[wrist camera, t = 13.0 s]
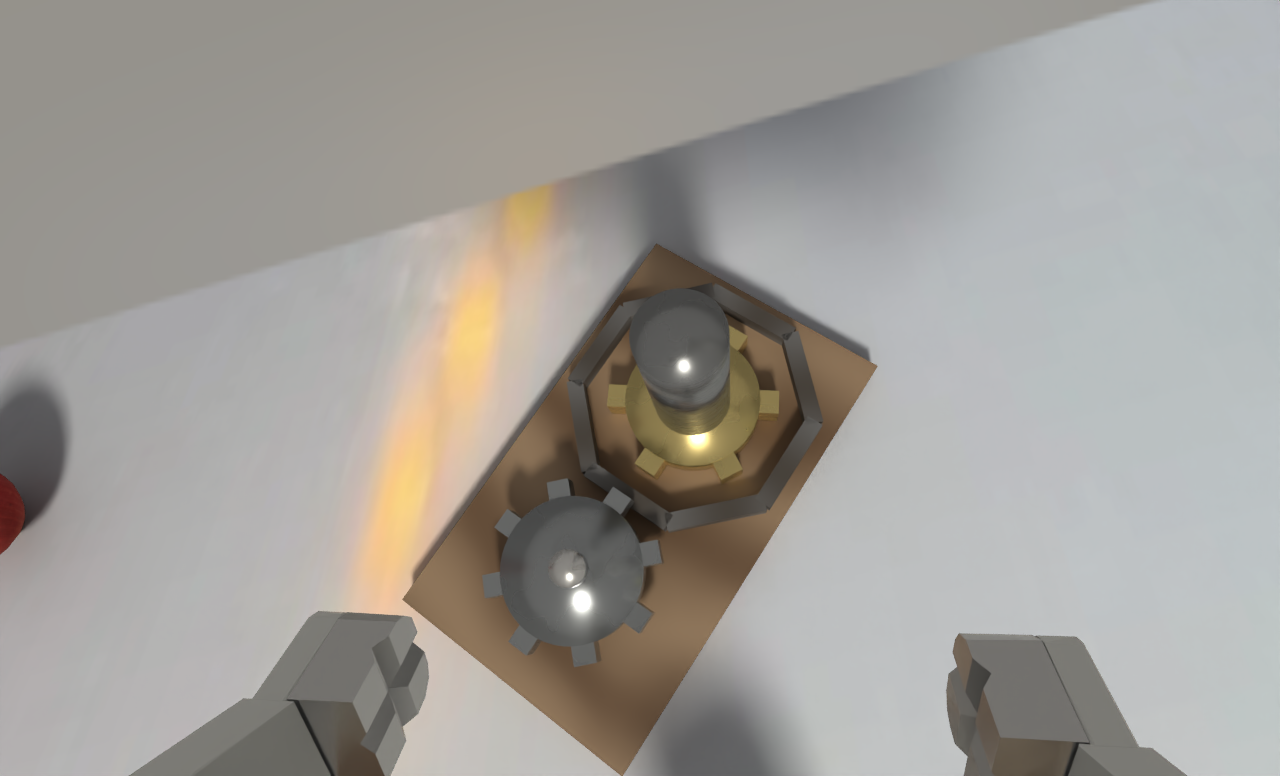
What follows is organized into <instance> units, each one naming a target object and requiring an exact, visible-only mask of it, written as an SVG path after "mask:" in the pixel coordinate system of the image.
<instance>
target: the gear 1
mask: <svg viewBox="0 0 1280 776" xmlns="http://www.w3.org/2000/svg"><path fill="white" fill-rule="evenodd" d="M547 488H548V495H549V501H547V502H544V503H542V504H540V505H539V506H537V507H535V508H534V509H532V510H531V511H530V512H528V513H527V514H526V515H525V516H524V517H521V516H520V515H518V514H517V513H516V512H514V511H512V510H509V509H507V510H506V511H505V513H504V514H503V516H502V517H501V519H500V520H499V521H498V523H497V524H496V526H495V527H494V528H496V529H497V530H498V531H500V532H501V533H503V534H504V535H505V536H507V537H508V540H507V542H506V544H505V547H504V550H503V553H502V558H501V563H500V572H496V573H491V574H486V575H482V578H483V587H484V596H485V598H497V597H502V596H503V597H504V600H505V603H506V605H507V607H508V609H509V611H510V613H511V614H512V616H513V618H514V619H515V620H516V621H517V623H518V624H519V626H518V628H517V629H516V631H515V632H514V634H513V635H512V637H511V638H510V640H509V641H508V642H509V643H511V644H512V645H513V646H514V647H516V648H517V649H518V650H519V651H521V652H522V653H523V654H525V655H526V656H527V655H531V654H533V653H534V652H535V650H536V649H537V647H538V646H539V644H540V643H541V641H543V642H546V643H549V644H552V645H557V646H568V647H571V651H572V658H573V664H574V667H578V666H583V665H588V664H593V663H597V662H600V661H602V660H601V654H600V648H599V641H598V640H601V639H603V638H605V637H607V636H609V635H611V634H612V633H614V632H615V631H616V630H618V629H619V628H620V627H621V626H622V625H623V624H624V623H625V624H626V625H628V626H629V627H631V628H632V629H633V630H635V631H636V632H637V633H639V634H640V633H642V632H643V631H644V629H645V627H646V626H647V624H648V623H649V621H650V620H651V618H652V617H653V615H654V613H655V612H653V611H652V610H650V609H649V608H648V607H646V606H645V605H643V604H642V603H641V602H639V601H640V599H641V596H642V594H643V590H644V586H645V580H646V567H651V566H656V565H661V564H664V560H663V555H662V550H661V544H660V541H659V540H653V541H648V542H643V543H641V541H640V539H639V537H638V535H637V533H636V531H635V530H634V528H633V527H632V526H631V524H630V523H629V522H628V521H627V520H626V519H625V518H624V517H625V516H626V514H627V513H628V511H629V510H630V508H631V507H632V505H633V504H634V501H633V500H632V499H631V498H629V497H628V496H626V495H625V494H623V493H622V492H620V491H619V490H617V489H616V488H614V487H613V488H612V489H611V491H610V492H609V493H608V495H607V496H606V498H605V499H604V501H603V502H600V501H598V500H596V499H592V498H588V497H582V496H575V491H574V484H573V481H571V480H570V479H568V478H566V479H561V480H557V481H552V482H547Z"/></svg>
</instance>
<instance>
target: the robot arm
mask: <svg viewBox="0 0 1280 776" xmlns="http://www.w3.org/2000/svg"><path fill="white" fill-rule="evenodd" d="M416 634H417V630H416V627H415V625H414V622H413V620H412V617H408V616H399V615H382V614H366V613H350V612H347V613H345V612H325V611H318V612H316V613H315V614H314V615H312V616H311V617H309V618H308V619H307V621H306V622H305V624H304V625H303V626H302V628H301V629H300V631H299V632H298V634H297V635H296V636H295V638H294V639H293V641H292V642H291V644H290V645H289V647H288V648H287V649H286V651H285V652H284V654H283V655H282V657H281V658H280V660H279V661H278V662H277V664H276V665H275V667H274V668H273V670H272V671H271V673H270V674H269V675H268V677H267V678H266V680H265V681H264V683H263V684H262V686H261V687H260V688H259V690H258V691H257V693H256V694H255V696H254V697H253V699H242V700H241V701H239V702H238V703H236V704H235V705H233V706H232V707H230V708H229V709H227V710H226V711H224V712H223V713H221V714H220V715H218V716H217V717H215V718H214V719H212V720H211V721H209V722H208V723H206V724H205V725H203V726H202V727H200V728H199V729H198V730H196V731H195V732H193V733H192V734H190V735H189V736H187V737H186V738H184V739H183V740H181V741H180V742H178V743H177V744H175V745H174V746H172V747H171V748H169V749H168V750H166V751H165V752H163V753H162V754H160V755H159V756H157V757H156V758H154V759H153V760H152V761H150V762H149V763H147V764H146V765H144V766H143V767H141V768H140V769H138V770H137V771H135V772H134V773H132V774H131V775H129V776H391V773H392V771H393V769H394V767H395V764H396V762H397V760H398V758H399V756H400V753H401V751H402V749H403V747H404V744H405V742H406V738H405V734H404V730H403V726H404V725H405V724H406V723H408V722H409V721H410V720H411V719H412V718H414V717H415V716H416V715H417V714H418V713H419V710H420V708H421V706H422V703H423V701H424V699H425V696H426V690H427V685H428V679H429V672H428V662H427V659H426V656H425V652H424V651H423V650H421V649H420V648H419V647H418V646H417V645H415V644H414V643H413V640H414V638H415V636H416ZM953 654H954V658H955V661H956V664H957V668H955V669H954V670H953V671H952V672H950V673H949V675H948V682H947V690H946V693H947V712H948V717H949V723H950V728H951V731H952V735H953V739H954V742H955V744H956V745H957V746H958V747H959V748H960V749H961V750H962V751H963V752H964V753H965V754H966V755H967V756H968V758H967V763H966V767H965V772H964V776H1187V775H1186V774H1184V773H1183V772H1182V771H1181V770H1179V769H1178V768H1177V767H1176V766H1174V765H1173V764H1172V763H1170V762H1169V761H1168V760H1167V759H1165V758H1164V757H1163V756H1162V755H1160V754H1159V753H1158V752H1156V751H1155V750H1154V749H1153V748H1144V747H1139V746H1138V744H1137V742H1136V740H1135V738H1134V736H1133V734H1132V733H1131V731H1130V729H1129V727H1128V725H1127V723H1126V721H1125V720H1124V718H1123V716H1122V714H1121V712H1120V710H1119V708H1118V706H1117V705H1116V703H1115V701H1114V699H1113V697H1112V695H1111V693H1110V692H1109V690H1108V688H1107V686H1106V684H1105V682H1104V680H1103V678H1102V677H1101V675H1100V673H1099V671H1098V669H1097V667H1096V665H1095V664H1094V662H1093V660H1092V658H1091V656H1090V654H1089V652H1088V651H1087V649H1086V647H1085V645H1084V643H1083V642H1082V641H1081V640H1079V639H1078V638H1077V637H1068V636H1033V635H1010V634H963V633H959V634H958V636H957V637H956V639H955V643H954V648H953Z"/></svg>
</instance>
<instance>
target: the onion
mask: <svg viewBox="0 0 1280 776" xmlns="http://www.w3.org/2000/svg"><path fill="white" fill-rule="evenodd" d="M24 521H25V508H24V504H23V501H22V498H21V496H20V495H19V493H18V491H17V490H16V488H15V486H14V485H13V484H12V483H11V482H10V481H9V480H8V479H7V478H5V477H4V476H3V475H1V474H0V554H1V553H3V552H4V551H5V550H6V549H7V548H8V547H9V546H10V545H11V543H12V542H13V541H14V540H15V538H16V537H17V536H18V535H19V533H20V532H21V530H22V527H23V524H24Z"/></svg>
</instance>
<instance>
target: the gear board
mask: <svg viewBox="0 0 1280 776" xmlns="http://www.w3.org/2000/svg"><path fill="white" fill-rule="evenodd" d="M676 288H685V289H692V290H696V291H699V292H702V293H704V294H706V295H707V296H709V297H710V298H712V299H713V300H714V301H715V302H716V303H717V304H718V305H719V306H720V307H721V309H722V310H723V312H724V313H725V316H726V318H727V321H728V324H729V326H731V327H733V328H735V329H736V330H738V331H740V332H741V333H743V334H745V335H747V336H748V341H747V347H746V349H745V350H744V352H743V353H742V355H743V356H744V357H745V359H746V360H747V361H748V362H749V364H750V365H751V367H752V369H753V371H754V373H755V375H756V377H757V380H758V383H759V389H760V390H770V391H779V415H778V418H777V421H769V420H758V422H757V426H756V428H755V431H754V434H753V435H752V437H751V439H750V441H749V442H748V443H747V445H746V446H745V447H744V449H743V450H742V451H741V452H740V453H739V454H738V455H736V457H737V459H738V461H739V463H740V465H741V467H742V468H743V473H742V475H740V476H738V477H736V478H734V479H732V480H730V481H728V482H726V483H724V484H721V482H720V480H719V478H718V476H717V475H716V473H715V471H714V469H713V468H711V469H707V470H700V471H688V470H680V469H676V468H673V467H670V466H668V465H667V467H666V468H665V470H664V471H663V473H662V474H661V476H660V477H659V479H658V480H655V479H653V478H652V477H650V476H649V475H647V474H646V473H644V472H643V471H641V470H640V469H638V467H637V466H636V465H635V462H636V460H637V459H638V457H639V456H640V454H641V453H642V451H643V450H644V448H643V446H642V445H641V444H640V442H639V441H638V439H637V437H636V436H635V434H634V432H633V430H632V429H631V426H630V424H629V421H628V418H627V414H613V413H611V412H610V410H609V408H608V407H607V401H608V390H609V384H615V385H627V384H628V381H629V378H630V376H631V373H632V371H633V370H634V368H635V366H636V365H637V363H636V361H635V359H634V356H633V354H632V351H631V348H630V342H629V332H630V326H631V323H632V320H633V318H634V316H635V314H636V312H637V311H638V309H639V308H640V307H641V306H642V305H643V304H644V303H645V302H646V301H647V300H648V299H650V298H651V297H652V296H654V295H656V294H658V293H660V292H663V291H666V290H669V289H676ZM876 368H877V365H875V364H873V363H871V362H869V361H868V360H866V359H864V358H862V357H860V356H859V355H857V354H855V353H853V352H851V351H849V350H848V349H846V348H844V347H842V346H840V345H839V344H837V343H835V342H833V341H831V340H830V339H828V338H826V337H824V336H822V335H821V334H819V333H817V332H815V331H813V330H812V329H810V328H808V327H806V326H804V325H803V324H801V323H799V322H797V321H795V320H793V319H792V318H790V317H788V316H786V315H784V314H783V313H781V312H779V311H777V310H775V309H774V308H772V307H770V306H768V305H766V304H765V303H763V302H761V301H759V300H757V299H756V298H754V297H752V296H750V295H748V294H746V293H745V292H743V291H741V290H739V289H737V288H736V287H734V286H732V285H730V284H728V283H727V282H725V281H723V280H721V279H719V278H718V277H716V276H714V275H712V274H710V273H709V272H707V271H705V270H703V269H701V268H699V267H698V266H696V265H694V264H692V263H690V262H689V261H687V260H685V259H683V258H681V257H680V256H678V255H676V254H674V253H672V252H671V251H669V250H667V249H665V248H663V247H662V246H660V245H658V244H656V245H655V246H654V248H653V249H652V250H651V252H650V253H649V255H648V256H647V257H646V259H645V260H644V262H643V263H642V265H641V266H640V267H639V269H638V270H637V272H636V273H635V274H634V276H633V277H632V279H631V280H630V281H629V283H628V284H627V286H626V287H625V288H624V290H623V291H622V293H621V294H620V295H619V297H618V298H617V300H616V301H615V302H614V304H613V305H612V307H611V308H610V309H609V311H608V312H607V314H606V315H605V316H604V318H603V319H602V321H601V322H600V323H599V325H598V326H597V328H596V329H595V330H594V332H593V333H592V335H591V336H590V337H589V339H588V340H587V342H586V343H585V344H584V346H583V347H582V349H581V350H580V351H579V353H578V354H577V356H576V357H575V358H574V360H573V361H572V363H571V364H570V365H569V367H568V368H567V370H566V371H565V372H564V374H563V375H562V377H561V378H560V379H559V381H558V382H557V384H556V385H555V386H554V388H553V389H552V391H551V392H550V393H549V395H548V396H547V398H546V399H545V400H544V402H543V403H542V405H541V406H540V407H539V409H538V410H537V412H536V413H535V414H534V416H533V417H532V419H531V420H530V421H529V423H528V424H527V426H526V427H525V428H524V430H523V431H522V433H521V434H520V435H519V437H518V438H517V440H516V441H515V442H514V444H513V445H512V447H511V448H510V449H509V451H508V452H507V454H506V455H505V456H504V458H503V459H502V461H501V462H500V463H499V465H498V466H497V468H496V469H495V470H494V472H493V473H492V475H491V476H490V477H489V479H488V480H487V482H486V483H485V484H484V486H483V487H482V489H481V490H480V491H479V493H478V494H477V496H476V497H475V498H474V500H473V501H472V503H471V504H470V505H469V507H468V508H467V510H466V511H465V512H464V514H463V515H462V517H461V518H460V519H459V521H458V522H457V524H456V525H455V526H454V528H453V529H452V531H451V532H450V533H449V535H448V536H447V538H446V539H445V540H444V542H443V543H442V545H441V546H440V547H439V549H438V550H437V552H436V553H435V554H434V556H433V557H432V559H431V560H430V561H429V563H428V564H427V566H426V567H425V568H424V570H423V571H422V573H421V574H420V575H419V577H418V578H417V580H416V581H415V582H414V584H413V585H412V587H411V588H410V589H409V591H408V592H407V594H406V595H405V596H404V598H403V599H402V600H403V601H405V602H406V603H407V604H408V605H410V606H411V607H412V608H413V609H415V610H416V611H417V612H418V613H420V614H421V615H422V616H423V617H425V618H426V619H427V620H428V621H430V622H431V623H432V624H433V625H435V626H436V627H437V628H438V629H440V630H441V631H442V632H443V633H444V634H446V635H447V636H448V637H449V638H451V639H452V640H453V641H454V642H456V643H457V644H458V645H459V646H461V647H462V648H463V649H464V650H466V651H467V652H468V653H469V654H471V655H472V656H473V657H474V658H476V659H477V660H478V661H479V662H480V663H482V664H483V665H484V666H485V667H487V668H488V669H489V670H490V671H492V672H493V673H494V674H495V675H497V676H498V677H499V678H500V679H502V680H503V681H504V682H505V683H507V684H508V685H509V686H510V687H512V688H513V689H514V690H515V691H516V692H518V693H519V694H520V695H521V696H523V697H524V698H525V699H526V700H528V701H529V702H530V703H531V704H533V705H534V706H535V707H536V708H538V709H539V710H540V711H541V712H543V713H544V714H545V715H546V716H548V717H549V718H550V719H551V720H553V721H554V722H555V723H556V724H557V725H559V726H560V727H561V728H562V729H564V730H565V731H566V732H567V733H569V734H570V735H571V736H572V737H574V738H575V739H576V740H577V741H579V742H580V743H581V744H582V745H584V746H585V747H586V748H587V749H589V750H590V751H591V752H592V753H593V754H595V755H596V756H597V757H598V758H600V759H601V760H602V761H603V762H605V763H606V764H607V765H608V766H610V767H611V768H612V769H613V770H615V771H616V772H617V773H618V774H620V775H621V776H623V775H624V773H625V771H626V770H627V768H628V767H629V765H630V763H631V762H632V760H633V758H634V757H635V755H636V754H637V752H638V750H639V749H640V747H641V746H642V744H643V742H644V741H645V739H646V738H647V736H648V734H649V733H650V731H651V730H652V728H653V726H654V725H655V723H656V722H657V720H658V718H659V717H660V715H661V713H662V712H663V710H664V709H665V707H666V705H667V704H668V702H669V701H670V699H671V697H672V696H673V694H674V693H675V691H676V689H677V688H678V686H679V685H680V683H681V681H682V680H683V678H684V677H685V675H686V673H687V672H688V670H689V669H690V667H691V665H692V664H693V662H694V660H695V659H696V657H697V656H698V654H699V652H700V651H701V649H702V648H703V646H704V644H705V643H706V641H707V640H708V638H709V636H710V635H711V633H712V632H713V630H714V628H715V627H716V625H717V624H718V622H719V620H720V619H721V617H722V615H723V614H724V612H725V611H726V609H727V607H728V606H729V604H730V603H731V601H732V599H733V598H734V596H735V595H736V593H737V591H738V590H739V588H740V587H741V585H742V583H743V582H744V580H745V579H746V577H747V575H748V574H749V572H750V570H751V569H752V567H753V566H754V564H755V562H756V561H757V559H758V558H759V556H760V554H761V553H762V551H763V550H764V548H765V546H766V545H767V543H768V542H769V540H770V538H771V537H772V535H773V534H774V532H775V530H776V529H777V527H778V525H779V524H780V522H781V521H782V519H783V517H784V516H785V514H786V513H787V511H788V509H789V508H790V506H791V505H792V503H793V501H794V500H795V498H796V497H797V495H798V493H799V492H800V490H801V489H802V487H803V485H804V484H805V482H806V481H807V479H808V477H809V476H810V474H811V472H812V471H813V469H814V468H815V466H816V464H817V463H818V461H819V460H820V458H821V456H822V455H823V453H824V452H825V450H826V448H827V447H828V445H829V444H830V442H831V440H832V439H833V437H834V436H835V434H836V432H837V431H838V429H839V427H840V426H841V424H842V423H843V421H844V419H845V418H846V416H847V415H848V413H849V411H850V410H851V408H852V407H853V405H854V403H855V402H856V400H857V399H858V397H859V395H860V394H861V392H862V391H863V389H864V387H865V386H866V384H867V382H868V381H869V379H870V378H871V376H872V374H873V373H874V371H875V370H876ZM566 478H568V479H570V480H571V481H573V484H574V491H575V496H582V497H588V498H592V499H596V500H598V501H600V502H603V501H604V499H605V498H606V496H607V495H608V493H609V492H610V491H611V489H612V488H613V487H614V488H616V489H617V490H619V491H620V492H622V493H623V494H625V495H626V496H628V497H629V498H631V499H632V500H633V501H634V504H633V505H632V507H631V508H630V510H629V511H628V513H627V514H626V516H625V517H624V518H625V519H626V520H627V521H628V522H629V523H630V524H631V526H632V527H633V528H634V530H635V531H636V533H637V535H638V537H639V539H640V541H641V543H643V542H648V541H653V540H659V541H660V544H661V550H662V555H663V560H664V564H661V565H656V566H651V567H646V580H645V586H644V590H643V594H642V596H641V599H640V601H639V602H641V603H642V604H643V605H645V606H646V607H648V608H649V609H650V610H652V611H653V612H655V613H654V615H653V617H652V618H651V620H650V621H649V623H648V624H647V626H646V627H645V629H644V631H643V632H642V633H640V634H639V633H637V632H636V631H635V630H633V629H632V628H631V627H629V626H628V625H626V624H625V623H624V624H623V625H622V626H621V627H620V628H619V629H618V630H616V631H615V632H614V633H612V634H611V635H609V636H607V637H605V638H603V639H601V640H598V641H599V648H600V654H601V660H602V661H600V662H597V663H593V664H588V665H583V666H578V667H574V664H573V658H572V651H571V647H568V646H557V645H552V644H549V643H546V642H543V641H541V643H540V644H539V646H538V647H537V649H536V650H535V652H534V653H533V654H531V655H527V656H526V655H525V654H523V653H522V652H521V651H519V650H518V649H517V648H516V647H514V646H513V645H512V644H511V643H509V642H508V641H509V640H510V638H511V637H512V635H513V634H514V632H515V631H516V629H517V628H518V626H519V624H518V623H517V621H516V620H515V619H514V618H513V616H512V614H511V613H510V611H509V609H508V607H507V605H506V603H505V600H504V597H503V596H502V597H497V598H485V596H484V587H483V578H482V575H486V574H491V573H496V572H500V563H501V558H502V553H503V550H504V547H505V544H506V542H507V540H508V537H507V536H505V535H504V534H503V533H501V532H500V531H498V530H497V529H496V528H494V527H495V526H496V524H497V523H498V521H499V520H500V519H501V517H502V516H503V514H504V513H505V511H506V510H507V509H509V510H512V511H514V512H516V513H517V514H518V515H520V516H521V517H524V516H525V515H526V514H527V513H528V512H530V511H531V510H532V509H534V508H535V507H537V506H539V505H540V504H542V503H544V502H547V501H549V495H548V488H547V482H552V481H557V480H561V479H566Z"/></svg>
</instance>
